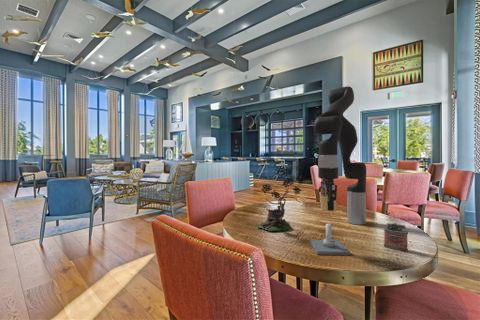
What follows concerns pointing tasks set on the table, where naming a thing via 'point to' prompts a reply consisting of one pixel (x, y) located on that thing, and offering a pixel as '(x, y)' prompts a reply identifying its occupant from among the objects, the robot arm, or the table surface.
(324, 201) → the bushing
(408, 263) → the table surface
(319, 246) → the grey peg stand
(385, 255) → the table surface
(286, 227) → the bonsai tree
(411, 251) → the table surface
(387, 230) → the small tin
